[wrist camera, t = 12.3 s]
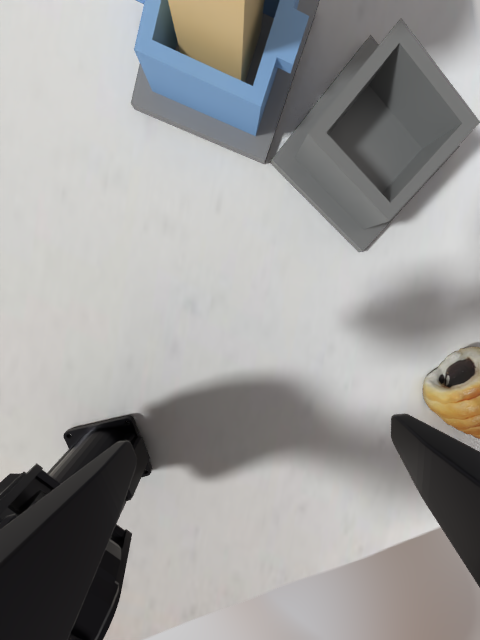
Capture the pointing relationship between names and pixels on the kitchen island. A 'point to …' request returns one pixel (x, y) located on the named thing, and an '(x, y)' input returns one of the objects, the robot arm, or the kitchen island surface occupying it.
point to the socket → (375, 136)
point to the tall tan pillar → (218, 32)
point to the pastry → (456, 390)
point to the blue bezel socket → (221, 78)
